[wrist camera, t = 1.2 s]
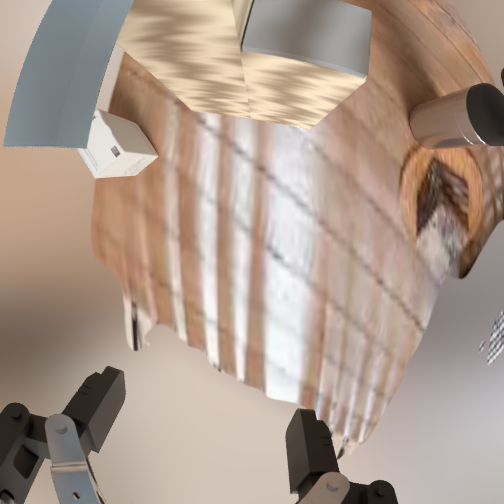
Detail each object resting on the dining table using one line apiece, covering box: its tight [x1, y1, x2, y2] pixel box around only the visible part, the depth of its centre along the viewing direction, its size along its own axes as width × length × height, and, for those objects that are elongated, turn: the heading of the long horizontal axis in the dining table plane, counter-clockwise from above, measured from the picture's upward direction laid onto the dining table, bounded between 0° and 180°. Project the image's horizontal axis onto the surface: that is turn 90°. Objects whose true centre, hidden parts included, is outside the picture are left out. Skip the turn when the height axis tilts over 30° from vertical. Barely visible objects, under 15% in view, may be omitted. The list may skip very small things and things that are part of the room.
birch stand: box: [115, 0, 372, 130], centre depth 23 cm, size 20×8×37 cm, turn 80°
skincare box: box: [77, 109, 159, 178], centre depth 37 cm, size 8×6×15 cm
